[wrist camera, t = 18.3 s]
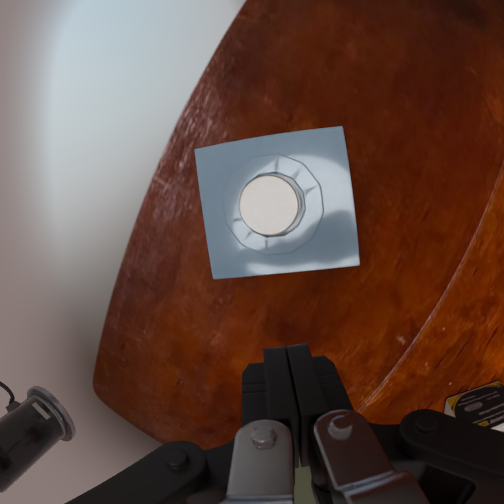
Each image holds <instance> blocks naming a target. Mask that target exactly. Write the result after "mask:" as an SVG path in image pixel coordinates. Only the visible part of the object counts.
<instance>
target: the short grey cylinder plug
mask: <svg viewBox="0 0 504 504" xmlns="http://www.w3.org/2000/svg"><path fill="white" fill-rule="evenodd" d="M239 211H240V215H241V217H242V219H243V221H244V223H245V224H246V225H247V226H248V227H249V228H250V229H251V230H253V231H254V232H256V233H258V234H261V235H268V236H269V235H277V234H280V233H282V232H284V231H286V230H287V229H288V228H289V227H290V226H291V225H292V224H293V223H294V222H295V220H296V219H297V217H298V215H299V212H300V198H299V195H298V193H297V191H296V189H295V188H294V187H293V185H291V184H290V183H289V182H288V181H286V180H284V179H283V178H281V177H278V176H274V175H264V176H260V177H257V178H255V179H253V180H252V181H250V182H249V183H248V184H247V185H246V186H245V187H244V189H243V191H242V193H241V195H240V199H239Z"/></svg>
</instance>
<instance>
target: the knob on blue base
mask: <svg viewBox="0 0 504 504" xmlns="http://www.w3.org/2000/svg"><path fill="white" fill-rule="evenodd" d="M195 159H196V167H197V174H198V182H199V189H200V197H201V204H202V211H203V218H204V225H205V232H206V238H207V245H208V251H209V258H210V264H211V270H212V276H213V279H223V278H235V277H247V276H259V275H270V274H281V273H291V272H302V271H312V270H322V269H332V268H341V267H351V266H359V265H360V260H359V247H358V235H357V225H356V215H355V206H354V198H353V190H352V182H351V175H350V168H349V161H348V155H347V149H346V143H345V137H344V131H343V127H342V126H338V127H328V128H319V129H310V130H302V131H294V132H287V133H280V134H273V135H267V136H261V137H255V138H249V139H243V140H238V141H233V142H227V143H222V144H217V145H212V146H208V147H203V148H198V149H195ZM264 175H274V176H278V177H281V178H283V179H284V180H286V181H288V182H289V183H290V184H291V185H293V187H294V188H295V189H296V191H297V193H298V195H299V198H300V212H299V215H298V217H297V219H296V220H295V222H294V223H293V224H292V225H291V226H290V227H289V228H288V229H287V230H286V231H284V232H282V233H280V234H277V235H269V236H268V235H261V234H258V233H256V232H254V231H253V230H251V229H250V228H249V227H248V226H247V225H246V224H245V223H244V221H243V219H242V217H241V215H240V211H239V199H240V195H241V193H242V191H243V189H244V187H245V186H246V185H247V184H248V183H249V182H250V181H252V180H253V179H255V178H257V177H260V176H264Z"/></svg>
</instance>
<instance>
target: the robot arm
mask: <svg viewBox="0 0 504 504" xmlns="http://www.w3.org/2000/svg"><path fill="white" fill-rule="evenodd" d="M263 352H264V363H254V364H248V366H247V367H246V369H245V370H244V372H243V373H242V411H241V429H240V430H239V431H238V432H237V434H236V437H235V438H234V439H233V440H232V441H230V442H229V443H227V444H225V445H222V446H219V447H216V448H212V449H208V450H204V451H203V450H202V449H201V448H200V447H199V446H198V445H196V444H194V443H191V442H187V441H174V442H169V443H166V444H164V445H162V446H160V447H159V448H157V449H156V450H154V451H153V452H151V453H150V454H148V455H147V456H145V457H144V458H142V459H140V460H139V461H138V462H136V463H134V464H133V465H131V466H130V467H128V468H126V469H125V470H123V471H121V472H120V473H118V474H116V475H115V476H113V477H112V478H110V479H108V480H106V481H105V482H103V483H102V484H100V485H98V486H96V487H94V488H93V489H91V490H89V491H87V492H85V493H84V494H82V495H80V496H78V497H76V498H75V499H72V500H71V501H69V502H67V503H65V504H295V501H294V486H295V468H299V457H300V463H301V467H307V466H310V471H311V476H312V477H311V488H312V491H313V495H314V498H315V502H316V504H504V432H502V431H498V430H495V429H491V428H488V427H484V426H481V425H478V424H475V423H471V422H468V421H465V420H462V419H459V418H456V417H453V416H450V415H447V414H444V413H441V412H438V411H435V410H430V409H420V410H416V411H413V412H411V413H409V414H407V415H406V416H405V417H404V418H403V419H402V421H401V424H398V425H378V424H372V423H369V422H367V420H366V419H365V418H364V417H363V416H362V415H361V414H359V413H357V412H355V411H354V409H353V407H352V405H351V402H350V400H349V398H348V395H347V393H346V391H345V388H344V386H343V384H342V382H341V379H340V377H339V375H338V374H337V370H336V368H335V365H334V363H333V362H332V361H330V360H329V359H328V358H327V357H325V356H324V355H322V356H315V357H312V356H311V353H310V350H309V347H308V345H307V343H306V344H298V345H290V346H286V352H285V347H284V346H282V347H272V348H263ZM0 386H1V387H3V388H4V389H5V390H6V391H7V392H8V393H9V395H10V396H11V399H10V401H9V405H8V406H7V407H6V409H7V411H8V413H7V414H6V415H5V416H3V417H2V418H0V493H2V492H4V491H6V490H7V489H8V488H9V487H10V486H11V485H12V484H13V483H14V482H15V481H17V480H18V479H19V478H20V477H21V476H22V475H23V474H24V473H25V472H26V471H27V470H28V469H29V468H30V467H31V466H32V465H33V464H35V463H36V462H37V461H38V460H39V459H40V458H41V457H42V456H43V455H44V454H45V453H46V452H47V451H49V450H50V449H51V448H52V447H53V446H54V445H55V444H56V443H57V442H58V441H59V440H60V439H62V438H63V437H64V436H65V435H66V434H67V429H66V426H65V423H64V421H63V420H62V418H61V416H60V415H59V413H58V412H57V411H56V410H55V408H54V407H53V406H52V405H51V404H50V403H49V402H48V401H47V400H45V399H44V398H43V397H41V396H39V395H33V396H31V397H30V398H28V399H26V400H25V401H24V402H22V403H19V402H17V401H14V395H13V393H12V392H11V390H10V389H9V388H8V387H7V386H6V385H5V384H3V383H2V382H0Z"/></svg>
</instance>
